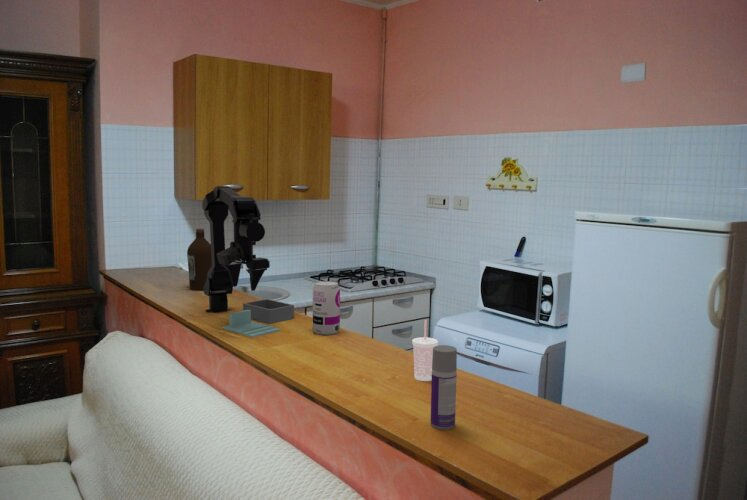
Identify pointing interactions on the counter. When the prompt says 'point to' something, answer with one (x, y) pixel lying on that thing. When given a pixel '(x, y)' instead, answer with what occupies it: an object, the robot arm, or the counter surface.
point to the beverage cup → (423, 356)
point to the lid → (247, 325)
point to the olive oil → (199, 261)
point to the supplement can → (326, 307)
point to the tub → (269, 310)
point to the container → (443, 387)
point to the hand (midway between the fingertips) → (243, 288)
